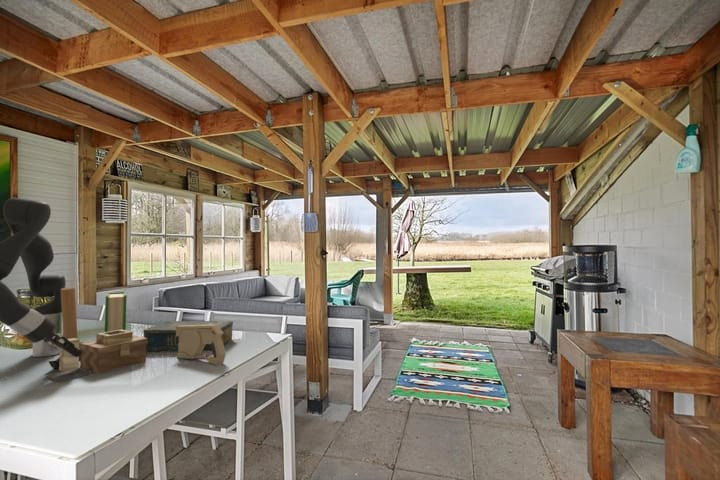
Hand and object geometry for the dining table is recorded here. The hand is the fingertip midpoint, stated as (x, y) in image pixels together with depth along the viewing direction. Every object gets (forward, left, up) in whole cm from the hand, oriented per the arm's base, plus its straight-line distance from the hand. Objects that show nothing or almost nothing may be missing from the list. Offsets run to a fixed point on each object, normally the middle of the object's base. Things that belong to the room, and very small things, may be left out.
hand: (76, 353), depth 120 cm
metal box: (0, +44, -8) cm, 44 cm away
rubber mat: (0, -2, -7) cm, 7 cm away
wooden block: (0, -2, -5) cm, 5 cm away
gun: (+24, +31, -7) cm, 40 cm away
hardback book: (-28, +25, -7) cm, 38 cm away
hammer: (-18, +5, -7) cm, 20 cm away
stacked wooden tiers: (0, +12, -7) cm, 14 cm away
